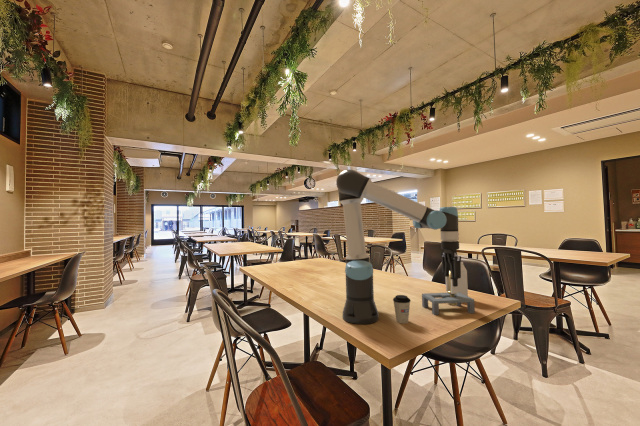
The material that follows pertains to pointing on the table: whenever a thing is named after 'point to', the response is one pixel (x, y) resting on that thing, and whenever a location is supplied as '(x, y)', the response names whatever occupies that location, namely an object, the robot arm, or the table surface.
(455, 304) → the brass t bolt
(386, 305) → the table surface
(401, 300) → the coffee cup
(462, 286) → the milk carton
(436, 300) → the keyhole plate
